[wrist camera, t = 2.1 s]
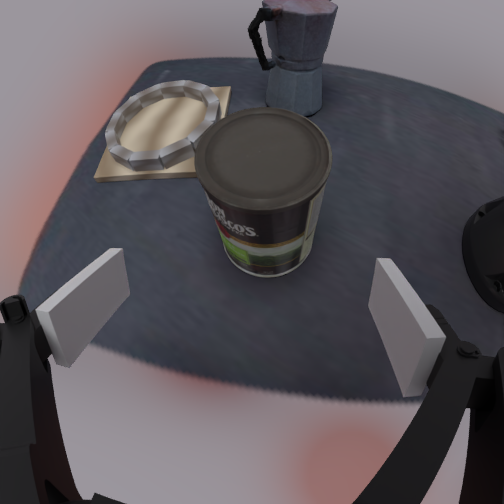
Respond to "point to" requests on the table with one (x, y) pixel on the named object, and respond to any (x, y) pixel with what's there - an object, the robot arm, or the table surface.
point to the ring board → (161, 131)
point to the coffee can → (264, 186)
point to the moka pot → (294, 51)
